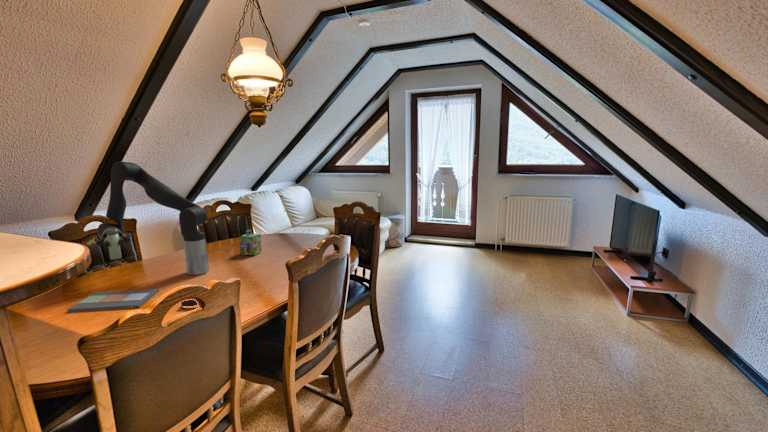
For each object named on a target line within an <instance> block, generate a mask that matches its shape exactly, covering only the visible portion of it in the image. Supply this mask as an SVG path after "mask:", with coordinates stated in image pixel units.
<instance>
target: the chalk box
mask: <svg viewBox="0 0 768 432" xmlns="http://www.w3.org/2000/svg"><path fill="white" fill-rule="evenodd" d="M245 232H246V234H242V235H240V236H238V239H239V242H238V243H239V255H240V256H246V255H255V256H256V254H257V255H258V253H259V254H261V253H262V252H261V251H262V238H261V237H262V235H261V234H260V233H259V234H257V233H252V230H251V228H250V229H246V230H245ZM260 252H261V253H260Z"/></svg>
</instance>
